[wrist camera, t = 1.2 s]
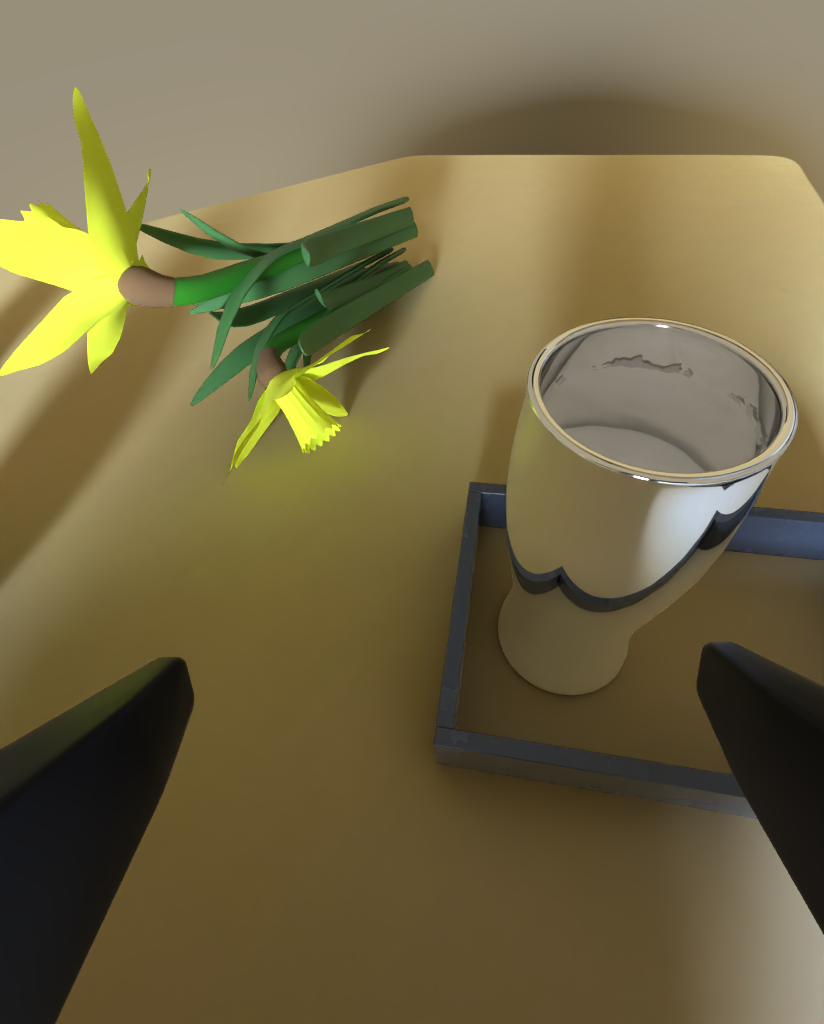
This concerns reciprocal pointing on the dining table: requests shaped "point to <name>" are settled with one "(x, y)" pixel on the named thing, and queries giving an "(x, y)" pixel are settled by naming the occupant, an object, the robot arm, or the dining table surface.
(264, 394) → the daffodil flowers
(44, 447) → the dining table surface
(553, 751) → the dark grey hollow frame
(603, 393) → the silver metal goblet
